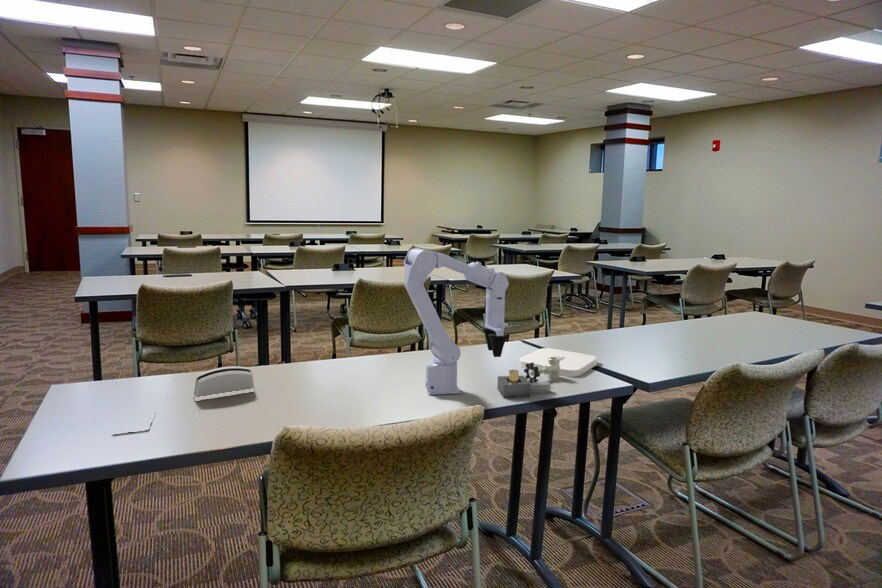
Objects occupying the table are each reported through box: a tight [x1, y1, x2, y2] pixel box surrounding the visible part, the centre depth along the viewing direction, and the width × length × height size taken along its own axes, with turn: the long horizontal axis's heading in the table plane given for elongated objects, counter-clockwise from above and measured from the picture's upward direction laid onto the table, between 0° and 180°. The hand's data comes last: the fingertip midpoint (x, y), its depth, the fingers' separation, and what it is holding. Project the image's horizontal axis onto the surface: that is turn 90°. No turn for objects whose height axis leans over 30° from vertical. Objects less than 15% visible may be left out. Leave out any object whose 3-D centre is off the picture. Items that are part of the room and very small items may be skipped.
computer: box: [518, 347, 598, 378], centre depth 195 cm, size 22×22×3 cm
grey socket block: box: [496, 375, 552, 399], centre depth 166 cm, size 15×8×4 cm, turn 97°
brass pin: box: [508, 369, 520, 383], centre depth 165 cm, size 3×3×6 cm
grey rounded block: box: [193, 365, 255, 397], centre depth 162 cm, size 17×5×10 cm, turn 120°
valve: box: [523, 357, 560, 383], centre depth 178 cm, size 7×7×12 cm
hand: (494, 353), depth 172 cm, fingers open, 7 cm apart
